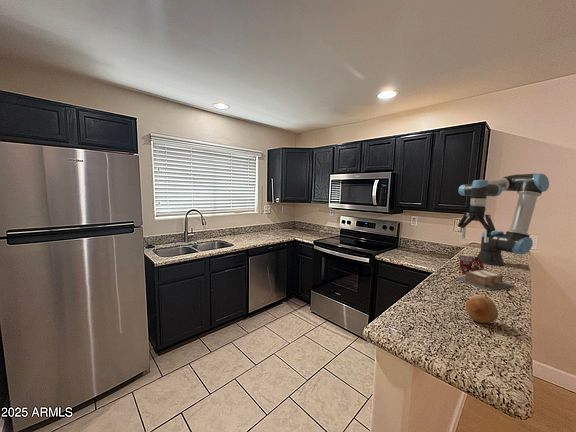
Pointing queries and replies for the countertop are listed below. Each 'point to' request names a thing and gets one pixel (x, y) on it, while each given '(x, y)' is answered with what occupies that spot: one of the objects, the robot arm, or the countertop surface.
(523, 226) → the robot arm
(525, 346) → the countertop surface
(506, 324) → the countertop surface
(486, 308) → the onion
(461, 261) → the toy fire truck
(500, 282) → the plinth
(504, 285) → the build mat
